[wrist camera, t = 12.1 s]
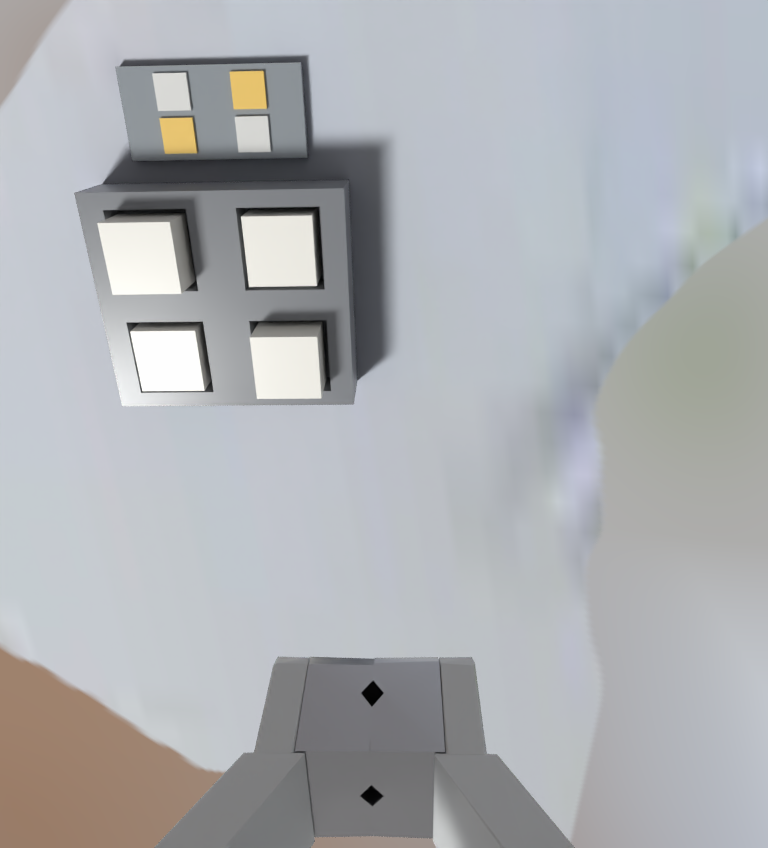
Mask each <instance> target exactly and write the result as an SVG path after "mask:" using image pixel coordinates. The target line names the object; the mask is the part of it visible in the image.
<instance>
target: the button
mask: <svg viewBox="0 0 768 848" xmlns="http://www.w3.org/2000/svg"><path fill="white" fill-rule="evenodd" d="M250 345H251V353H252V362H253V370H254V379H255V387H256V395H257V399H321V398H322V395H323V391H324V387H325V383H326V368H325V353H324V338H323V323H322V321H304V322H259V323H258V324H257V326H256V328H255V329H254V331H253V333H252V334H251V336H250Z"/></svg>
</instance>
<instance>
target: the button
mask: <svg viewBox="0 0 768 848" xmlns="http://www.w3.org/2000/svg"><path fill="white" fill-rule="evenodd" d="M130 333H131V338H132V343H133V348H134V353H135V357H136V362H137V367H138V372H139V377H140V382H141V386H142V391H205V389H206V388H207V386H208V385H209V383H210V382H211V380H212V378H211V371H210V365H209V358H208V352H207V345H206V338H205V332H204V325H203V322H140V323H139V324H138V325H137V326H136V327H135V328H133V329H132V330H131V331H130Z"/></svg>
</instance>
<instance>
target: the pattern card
mask: <svg viewBox="0 0 768 848" xmlns="http://www.w3.org/2000/svg"><path fill="white" fill-rule="evenodd" d="M115 68H116V74H117V79H118V85H119V90H120V96H121V101H122V107H123V112H124V118H125V123H126V129H127V134H128V140H129V145H130V151H131V156H132V161H163V160H216V159H269V158H307V157H308V145H307V130H306V115H305V101H304V86H303V71H302V63H301V62H294V63H251V64H208V65H165V66H122V67H115Z"/></svg>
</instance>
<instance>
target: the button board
mask: <svg viewBox="0 0 768 848" xmlns="http://www.w3.org/2000/svg"><path fill="white" fill-rule="evenodd" d="M74 194H75V198H76V203H77V207H78V212H79V216H80V220H81V225H82V229H83V234H84V238H85V243H86V247H87V252H88V256H89V260H90V265H91V269H92V274H93V278H94V283H95V287H96V292H97V296H98V300H99V305H100V309H101V314H102V318H103V323H104V327H105V332H106V336H107V340H108V345H109V349H110V354H111V358H112V363H113V367H114V372H115V376H116V380H117V385H118V389H119V394H120V398H121V403H122V406H214V405H349V404H354V399H355V393H356V386H357V363H356V339H355V315H354V291H353V267H352V243H351V219H350V195H349V180H304V181H248V182H192V183H136V184H101V185H98V186H94V187H91V188H88V189H85V190H82V191H79V192H76V193H74ZM295 207H318V218H319V234H320V250H321V266H322V275H321V277H320V280H319V282H318V284H317V286H278V287H249V282H248V273H247V265H246V256H245V248H244V239H243V230H242V222H241V216H242V215H244V214H245V213H246V212H247V211H249V210H250V209H251V208H295ZM154 213H185V216H186V222H187V229H188V235H189V242H190V248H191V255H192V261H193V268H194V274H195V282H194V283H193V284H192V285H190V286H189V287H188V288H187V289H186V290H185V291H184V292H183V293H182V294H138V295H112V290H111V285H110V281H109V276H108V271H107V266H106V262H105V257H104V252H103V248H102V243H101V238H100V234H99V229H98V224H97V223H99V222H101V221H103V220H105V219H108V218H110V217H112V216H114V215H117V214H154ZM304 321H322V323H323V338H324V353H325V368H326V383H325V387H324V391H323V395H322V398H321V399H257V395H256V387H255V379H254V370H253V362H252V353H251V345H250V336H251V334H252V333H253V331H254V329H255V328H256V326H257V324H258V323H259V322H304ZM140 322H203V325H204V332H205V338H206V345H207V352H208V358H209V365H210V371H211V378H212V380H211V382H210V383H209V385H208V386H207V388H206V389H205V391H142V386H141V382H140V377H139V372H138V367H137V362H136V357H135V353H134V348H133V343H132V338H131V333H130V331H131V330H132V329H133V328H135V327H136V326H137V325H138V324H139V323H140Z"/></svg>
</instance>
